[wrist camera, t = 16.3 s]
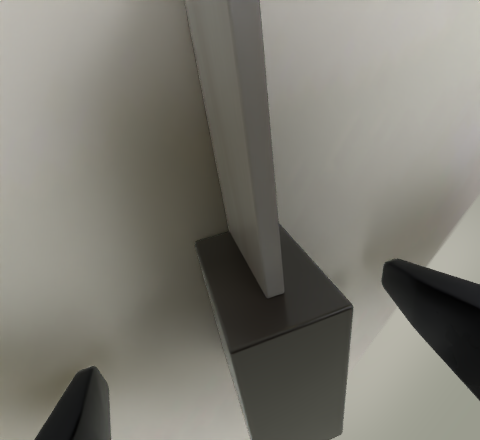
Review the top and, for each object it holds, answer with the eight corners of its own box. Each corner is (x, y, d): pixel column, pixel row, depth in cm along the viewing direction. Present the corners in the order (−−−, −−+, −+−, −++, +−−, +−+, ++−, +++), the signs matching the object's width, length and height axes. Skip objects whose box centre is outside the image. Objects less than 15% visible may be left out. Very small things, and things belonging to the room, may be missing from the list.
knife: (224, 353, 10) (260, 474, 7) (111, -57, 5) (62, -288, 2) (285, 330, 11) (343, 434, 8) (248, -68, 5) (407, -261, 2)
